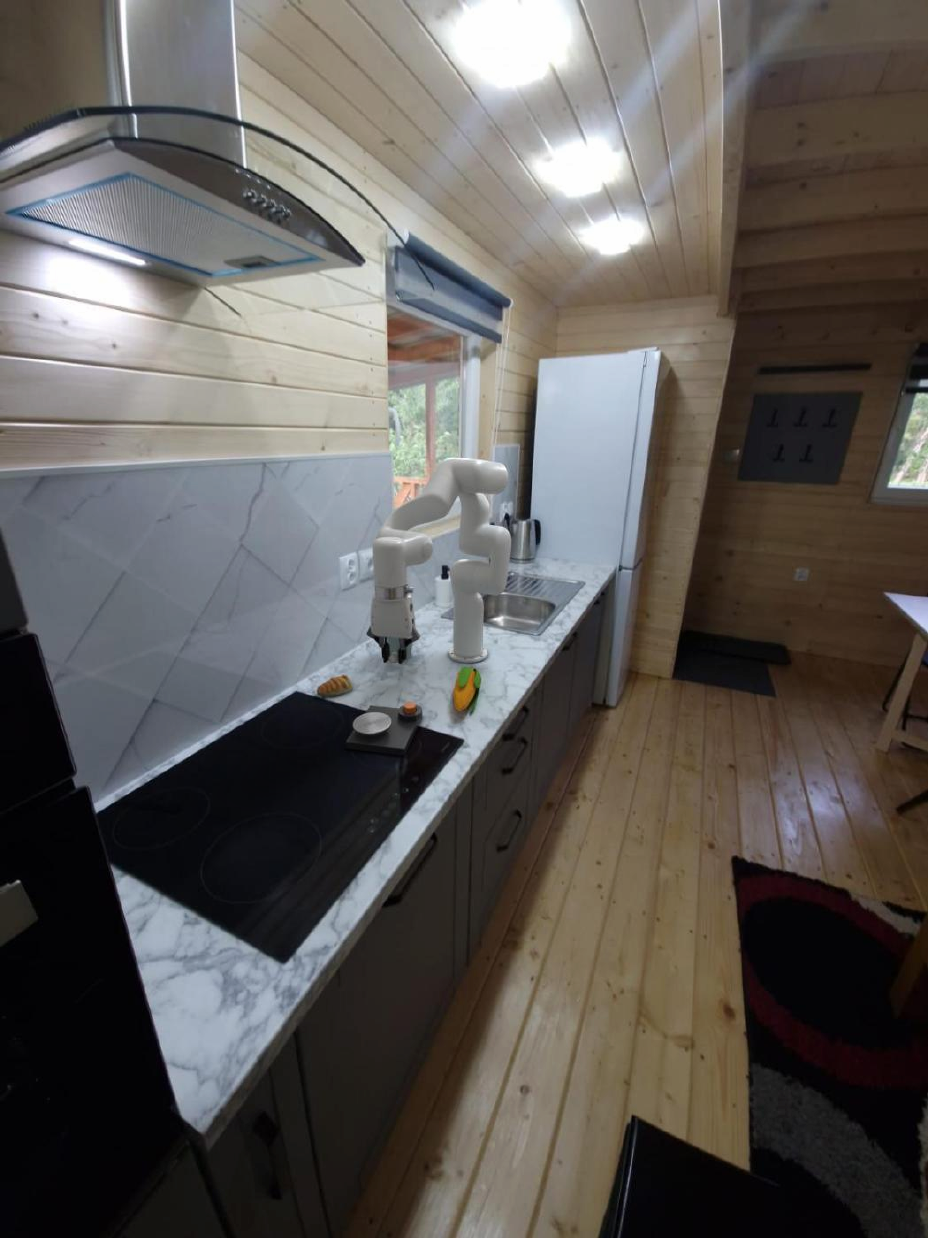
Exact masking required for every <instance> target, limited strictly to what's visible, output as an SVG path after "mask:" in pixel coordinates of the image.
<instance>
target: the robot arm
mask: <svg viewBox="0 0 928 1238" xmlns="http://www.w3.org/2000/svg"><path fill="white" fill-rule="evenodd" d="M508 483H509V473H508V470H507V468H506V466H505V465H504V464H503V463H502V462H497V461H490V460H486V459H480V458H466V457H465V458H463V457H448V458H445V459H443V460H442V461H440V462H439V463H438V465H437V466H436V468H435V469H434V471H433V473H432V474H431V475H430V477H429V479H428V481H427V483H426V484H425V485H424V487H423V489H422V490H421V492H420V494H418V495H417V496H415V497H413V498H412V499H410V500H408V501H407V502H405V503H403V504H401V505H400V506H398V507H397V508H396V509H394V510H393V511H392V512H391V513H390V514H388V516H387V517H386V518H385V520H384V522H383V523H382V524H381V526H380V528H379V530H378V532H377V534H376V536H375V540H374V541H373V542H372V561H373V562H372V564H373V579H374V594H373V595H372V599H371V605H370V625H369V628H368V629H367V630H366V636H367V637H369V638H371V639H372V640H374V642H375V643H376V644H377V645H378V647H379V648H380V650H381V651H380V653H381V654H380V655H381V659H382V661H383V664H386V663H389V661H388V657H389V655H390V645H389V643H388V642H387V640H388V637H393V638H398V639H399V645H400V648H399V650H398V663H397V664H399V665H403V664H404V662H405V661H406V658H407V653H406V647H407V646H408V645H409V644H411V643H412V644H413V643H415V642H417V641H419V640H420V638H421V634H420V633H419V631H418V630H417V628H416V627H417V625H416V619H415V618H416V615H415V609H414V602H413V598H412V595H411V594H413V593H414V587H411V586H409V583H408V571H407V568H408V567H413V566H418V565H422V564H424V563H427V562H428V561H429V560H430V559H431V557H432V555H433V553H434V543H433V540H432V539H431V537H430V536H429V535H427V534H425V533H422V532H417V531H410V530H411V529H413V528H415V527H417V526H420V525H424V524H429V523H433V522H436V521H438V520H441V519H444V518H445V517H447V516H448V515H449V513H450V511H451V509H452V508H453V506H454V504H455V503H456V501H457V499H459V502H460V507H461V509H460V522H459V531H458V548H459V551H460V552H461V553H463V554H465V555H470V556H475V557H481V558H487V559H489V562H488V561H483V560H477V559H469V558H462V559H458V560H456V561H455V562H453V563H452V565H451V567H450V571H449V579H450V584H451V585H450V586H451V589H452V598H453V599H452V600H453V602H452V603H453V604H452V605H453V607H452V608H453V609H452V610H453V611H452V612H453V613H452V614H453V615H452V616H453V620H452V621H453V625H452V626H453V627H452V628H453V631H452V632H453V633H452V636H453V638H452V639H453V641H452V642H453V644H452V646H451V647H450V648H449V649H448V656H449V658H451V659H452V660H453V661H455V662H459V663H464V664H473V663H478V662H481V661H483V660H485V659H486V658H487V657H488V650H487V648H486V647H485V646H483V645H484V617H485V616H484V614H485V613H484V612H485V611H484V610H485V604H484V599H483V597H482V595H481V594H483V595H489V596H500V595H502V594H503V593H504V591H505V589H506V588H507V587H506V586H507V582H508V577H509V568H510V559H511V552H512V536H511V533H510V531H509V530H508V529H507V528H506V527H504V526H500V525H493V524H490V516H491V515H490V513H491V506H490V503H489V500H488V498H487V496H486V495H501V493H503V492H504V491H505V490H506V488H507V486H508ZM411 634H412V636H411ZM410 636H411V637H410ZM407 638H408V639H407Z"/></svg>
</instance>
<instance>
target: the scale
mask: <svg viewBox="0 0 928 1238" xmlns="http://www.w3.org/2000/svg"><path fill="white" fill-rule="evenodd" d="M415 704H416V712H415V713H412V714H406V713H405V712H404V704H403V705H401V706H399V707H392V706H391V707H390V706H381V705H371V704H370V705H369V707H368V708H367V709H366V711H365V713H364V714H366V713H371V712H379V713H384V714H386V715H388V716H389V717H390V719H391V726H390V728H389V729H388V730H387V731H385V732H384V733H381V734H378V735H374V736H365V735H361V734H358V733H357V732H355V731H354V729H353V730H352V731H351V733H350V735H348V738H347V739H346V741H345V748H346V749H348V750H349V749H350V750H355V751H356V750H357V751H364V752H373V753H380V754H388V755H396V756H402V757H403V756H406V753H407V751H408V749H409V747H410V745H411V743H412V740H413V739H414V736H415V735H416V732H417V730H418V728H419V726H420V724H421V722H422V720H423V718H424V717H423V716H424V715H423V708H422V706H421V705H419V704H417V703H415Z"/></svg>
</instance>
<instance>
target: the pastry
mask: <svg viewBox="0 0 928 1238" xmlns="http://www.w3.org/2000/svg"><path fill="white" fill-rule="evenodd" d="M353 688H354V686H353V683H352V681H351V680H350V677H349V676H348V675H347V674H341V675H338V676H334V677H331V678H329V679H328V680H327V681H325V682H323V683H322V684H320V685H319V686H318V687H317V689H316V694H317V695H318V696H321V697H324V698H329V697H336V696H340V695H344V694H347V693H350V692H351V691H352V689H353Z"/></svg>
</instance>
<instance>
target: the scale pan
mask: <svg viewBox="0 0 928 1238" xmlns="http://www.w3.org/2000/svg"><path fill="white" fill-rule="evenodd" d="M365 713H366V712H365ZM365 713H363V714H361V715H359V716H357V717H356V718H355V719H354V720H353V721H352V729H353V730H354V731H355V732H357V733H358V734H361V735H365V736H374V735H378V734H381V733H384V732H385V731H387V730H388V729H389V728H390V726H391V719H390V717H389V716H388V715H386V714H384V713H379V712H371V713H366V714H365Z"/></svg>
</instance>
